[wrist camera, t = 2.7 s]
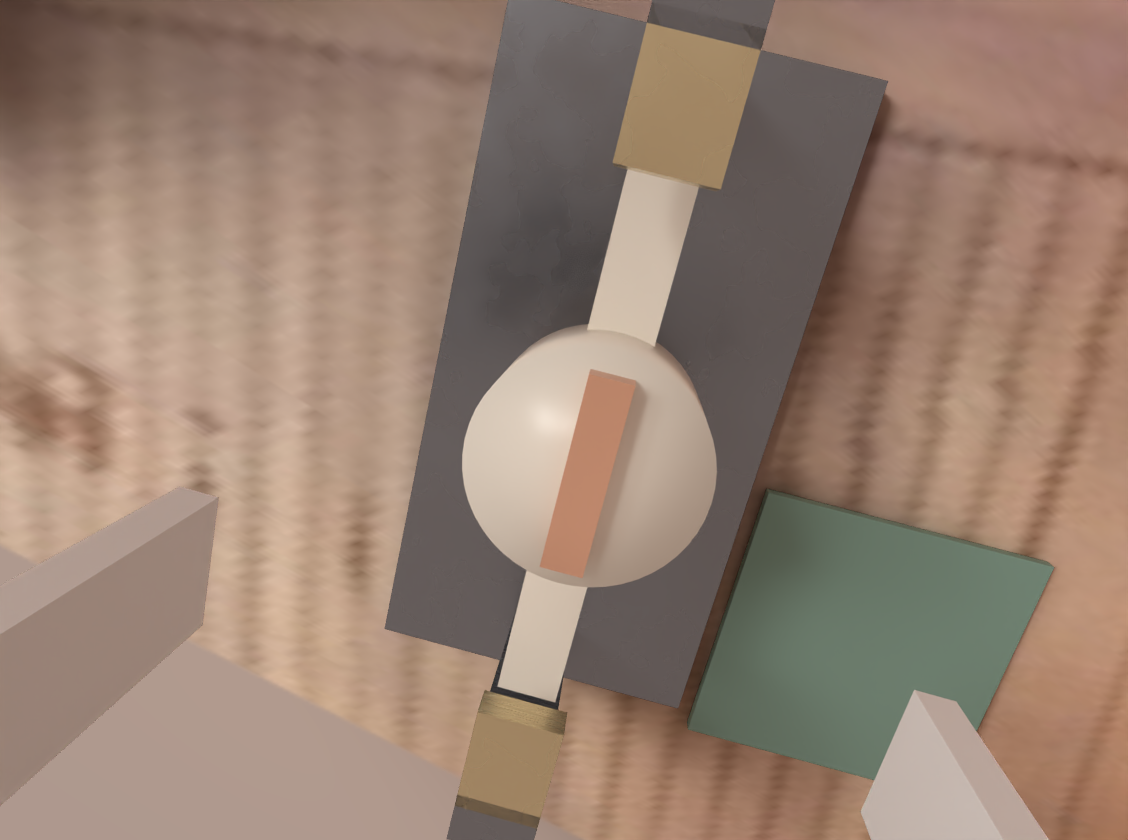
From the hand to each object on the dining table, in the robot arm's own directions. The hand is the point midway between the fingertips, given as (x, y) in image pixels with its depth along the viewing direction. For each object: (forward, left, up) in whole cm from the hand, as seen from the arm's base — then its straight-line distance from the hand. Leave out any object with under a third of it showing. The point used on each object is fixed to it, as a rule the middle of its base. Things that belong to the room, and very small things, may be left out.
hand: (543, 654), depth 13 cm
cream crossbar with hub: (0, 0, -15) cm, 15 cm away
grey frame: (0, 0, -23) cm, 23 cm away
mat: (+10, +16, -23) cm, 30 cm away
